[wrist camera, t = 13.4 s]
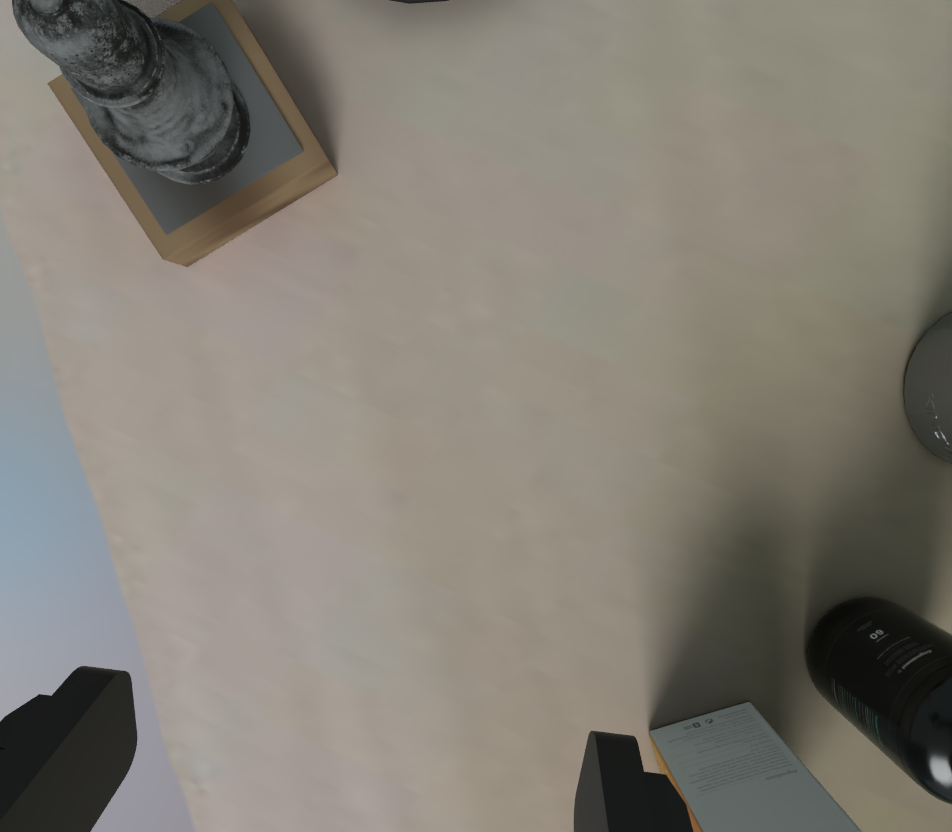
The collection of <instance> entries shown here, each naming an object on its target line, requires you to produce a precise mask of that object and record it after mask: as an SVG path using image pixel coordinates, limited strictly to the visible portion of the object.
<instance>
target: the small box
mask: <svg viewBox="0 0 952 832" xmlns="http://www.w3.org/2000/svg"><path fill="white" fill-rule="evenodd" d="M649 736H650V739H651V743H652V746H653V749H654V752H655V756H656V759H657V763H658V766H659V770H660V774H665V775H667V777H668V778H669V780H670V781H671V783H672V784H673V785H674V787H675V788H676V790H677V791H678V793H679V794H680V796H681V797H682V799H683V800H684V802H685V803H686V805H687V809H688V813H689V816H690V820H691V824H692V828H693V831H694V832H862V831H861V830H860V829H859V828H858V826H857V825H856V824H855V823H854V822H853V821H852V819H851V818H850V817H849V816H848V815H847V814H846V812H845V811H844V810H843V809H842V808H841V807H840V806H839V804H838V803H837V802H836V801H835V800H834V799H833V797H832V796H831V795H830V794H829V793H828V792H827V791H826V789H825V788H824V787H823V786H822V785H821V784H820V782H819V781H818V780H817V779H816V778H815V777H814V776H813V775H812V773H811V772H810V771H809V770H808V769H807V768H806V767H805V765H804V764H803V763H802V762H801V761H800V760H799V758H798V757H797V756H796V755H795V754H794V753H793V752H792V750H791V749H790V748H789V747H788V746H787V745H786V743H785V742H784V741H783V740H782V739H781V737H780V736H779V735H778V734H777V733H776V731H775V730H774V729H773V728H772V727H771V725H770V724H769V723H768V722H767V721H766V720H765V719H764V717H763V716H762V715H761V714H760V713H759V712H758V710H757V709H756V708H755V707H754V705H753V704H752V703H750V702H746V703H743V704H739V705H735V706H732V707H729V708H726V709H722V710H718V711H715V712H712V713H708V714H705V715H702V716H698V717H695V718H691V719H688V720H685V721H681V722H678V723H675V724H672V725H668V726H665V727H662V728H658V729H655V730H652V731H650V732H649Z"/></svg>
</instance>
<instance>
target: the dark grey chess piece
mask: <svg viewBox="0 0 952 832" xmlns="http://www.w3.org/2000/svg"><path fill="white" fill-rule="evenodd" d="M12 6H13V14H14V17H15V19H16V22H17V24H18V27H19V28H20V29H21V31H22V32H23V34H24V35H25V37H26V38H27V39H28V41H29V42H30V43H31V44H32V45H33V46H34V47H35V48H36V49H38V50H39V51H40V52H41V53H42V54H44V55H45V56H46V57H48V58H49V59H51V60H52V61H53V62H55V63H56V64H57V65H59V66H60V69H61V71H62V74H63V76H64V77H65V79H66V80H67V81H68V83H69V84H70V86H71V87H72V88H73V89H74V90H75V91H76V92H78V93H79V94H80V95H81V96H82V97H83V101H84V108H85V111H86V114H87V116H88V119H89V122H90V124H91V127H92V128H93V130H94V131H95V133H96V134H97V135H98V137H99V138H100V140H101V141H102V143H103V144H104V145H105V146H106V147H108V148H109V149H110V150H111V151H112V152H113V153H114V154H115V155H117V156H118V157H119V158H121V159H123V160H125V161H127V162H129V163H130V164H132V165H134V166H136V167H139V168H143V169H148V170H152V171H156V172H158V173H159V174H161V175H163V176H165V177H167V178H169V179H171V180H173V181H176V182H180V183H184V184H189V185H190V184H206V183H209V182H212V181H215V180H219V179H220V178H222V177H223V176H225V175H226V174H228V173H229V172H231V171H232V170H233V169H234V168H235V166H236V165H237V164H238V163H239V162H240V161H241V159H242V157H243V155H244V153H245V151H246V149H247V146H248V142H249V136H250V119H249V113H248V110H247V107H246V104H245V102H244V99H243V98H242V96H241V95H240V93H239V92H238V90H237V88H236V87H235V86H234V84H232V82H231V80H230V77H229V74H228V71H227V68H226V65H225V63H224V62H223V60H222V59H221V57H220V56H219V54H218V53H217V51H216V50H215V48H214V47H213V46H212V45H211V44H210V43H209V42H208V41H207V40H206V39H205V38H204V37H203V36H201V35H200V34H199V33H198V32H196V31H195V30H193V29H191V28H189V27H187V26H185V25H184V24H182V23H180V22H176V21H172V20H168V19H164V18H149V17H147V16H146V15H145V14H144V13H143V12H142V11H141V10H140V9H139V8H137V7H135V6H133V5H132V4H130V3H128V2H126V1H123V0H12Z"/></svg>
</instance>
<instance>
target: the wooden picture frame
mask: <svg viewBox="0 0 952 832" xmlns="http://www.w3.org/2000/svg"><path fill="white" fill-rule="evenodd" d="M155 18H164V19H168V20H172V21H176V22H180V23H182V24H184V25H185V26H187V27H189V28H191V29H193V30H195V31H196V32H198V33H199V34H200V35H201V36H203V37H204V38H205V39H206V40H207V41H208V42H209V43H210V44H211V45H212V46H213V47H214V48H215V50H216V51H217V53H218V54H219V56H220V57H221V59H222V60H223V62H224V63H225V65H226V68H227V71H228V74H229V77H230V80H231V82H232V84H234V86H235V87H236V88H237V90H238V92H239V93H240V95H241V96H242V98H243V99H244V102H245V104H246V107H247V110H248V113H249V119H250V136H249V142H248V146H247V149H246V151H245V153H244V155H243V157H242V159H241V161H240V162H239V163H238V164H237V165H236V166H235V168H234V169H233V170H232V171H231V172H229V173H228V174H226V175H225V176H223V177H222V178H220V179H219V180H215V181H212V182H209V183H206V184H190V185H189V184H184V183H180V182H176V181H173V180H171V179H169V178H167V177H165V176H163V175H161V174H159V173H158V172H156V171H152V170H148V169H143V168H139V167H136V166H134V165H132V164H130V163H129V162H127V161H125V160H123V159H121V158H119V157H118V156H117V155H115V154H114V153H113V152H112V151H111V150H110V149H109V148H108V147H106V146H105V145H104V144H103V143H102V141H101V140H100V138H99V137H98V135H97V134H96V133H95V131H94V130H93V128H92V127H91V124H90V122H89V119H88V116H87V114H86V111H85V108H84V101H83V97H82V96H81V95H80V94H79V93H78V92H76V91H75V90H74V89H73V88H72V87H71V86H70V84H69V83H68V81H67V80H66V79H65V77H64V76H63V74H62V75H60V76H59V77H57V78H55V79H54V80H52V81H51V82H49V83H48V85H49V86H50V88H51V89H52V91H53V92H54V94H55V96H56V97H57V99H58V100H59V102H60V103H61V105H62V106H63V108H64V109H65V111H66V112H67V114H68V115H69V117H70V118H71V120H72V121H73V123H74V125H75V126H76V128H77V129H78V131H79V132H80V134H81V135H82V137H83V138H84V140H85V141H86V143H87V144H88V146H89V147H90V149H91V151H92V152H93V154H94V155H95V157H96V158H97V160H98V161H99V163H100V164H101V166H102V167H103V169H104V170H105V172H106V173H107V175H108V176H109V178H110V180H111V181H112V183H113V184H114V186H115V187H116V189H117V190H118V192H119V193H120V195H121V196H122V198H123V199H124V201H125V202H126V204H127V206H128V207H129V209H130V210H131V212H132V213H133V215H134V216H135V218H136V219H137V221H138V222H139V224H140V225H141V227H142V228H143V230H144V231H145V233H146V235H147V236H148V238H149V239H150V241H151V242H152V244H153V245H154V247H155V248H156V250H157V251H158V253H159V254H160V256H161V257H162V259H163V260H167V261H170V262H173V263H176V264H179V265H183V266H186V267H188V266H190V265H191V264H193V263H195V262H196V261H198V260H199V259H201V258H203V257H204V256H206V255H208V254H209V253H211V252H213V251H214V250H216V249H217V248H219V247H221V246H222V245H224V244H226V243H227V242H229V241H230V240H232V239H234V238H235V237H237V236H239V235H240V234H242V233H244V232H245V231H247V230H248V229H250V228H252V227H253V226H255V225H257V224H258V223H260V222H261V221H263V220H265V219H266V218H268V217H270V216H271V215H273V214H275V213H276V212H278V211H279V210H281V209H283V208H284V207H286V206H288V205H289V204H291V203H293V202H294V201H296V200H297V199H299V198H301V197H302V196H304V195H306V194H307V193H309V192H310V191H312V190H314V189H315V188H317V187H319V186H320V185H322V184H324V183H325V182H327V181H328V180H330V179H332V178H333V177H335V176H337V175H338V174H337V173H336V171H335V169H334V168H333V166H332V164H331V163H330V161H329V159H328V158H327V156H326V154H325V153H324V151H323V149H322V148H321V146H320V144H319V143H318V141H317V139H316V138H315V136H314V135H313V133H312V131H311V130H310V128H309V126H308V125H307V123H306V121H305V120H304V118H303V116H302V115H301V113H300V111H299V110H298V108H297V107H296V105H295V103H294V102H293V100H292V98H291V97H290V95H289V93H288V92H287V90H286V88H285V87H284V85H283V83H282V82H281V80H280V79H279V77H278V75H277V74H276V72H275V70H274V69H273V67H272V65H271V64H270V62H269V60H268V59H267V57H266V56H265V54H264V52H263V51H262V49H261V47H260V46H259V44H258V42H257V41H256V39H255V37H254V36H253V34H252V32H251V31H250V29H249V28H248V26H247V24H246V23H245V21H244V19H243V18H242V16H241V14H240V13H239V11H238V9H237V8H236V6H235V4H234V3H233V1H232V0H182V1H181V2H179V3H177V4H176V5H174V6H172V7H171V8H169V9H168V10H166V11H164V12H163V13H161V14H159V15H158V16H156V17H155Z"/></svg>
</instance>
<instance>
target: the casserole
mask: <svg viewBox="0 0 952 832" xmlns="http://www.w3.org/2000/svg"><path fill="white" fill-rule="evenodd" d="M391 1H397V2H404V3H423V2H438V1H448V0H391Z"/></svg>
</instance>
